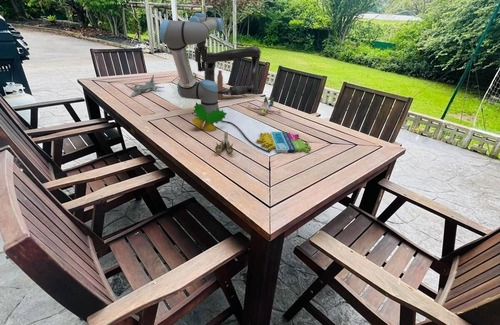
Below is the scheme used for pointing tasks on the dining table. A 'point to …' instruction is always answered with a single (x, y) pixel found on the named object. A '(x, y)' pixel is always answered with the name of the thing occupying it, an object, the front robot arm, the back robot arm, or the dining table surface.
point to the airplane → (145, 87)
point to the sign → (283, 142)
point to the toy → (265, 107)
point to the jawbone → (224, 145)
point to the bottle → (220, 84)
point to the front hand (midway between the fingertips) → (201, 70)
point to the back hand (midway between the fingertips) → (216, 91)
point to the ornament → (207, 117)
